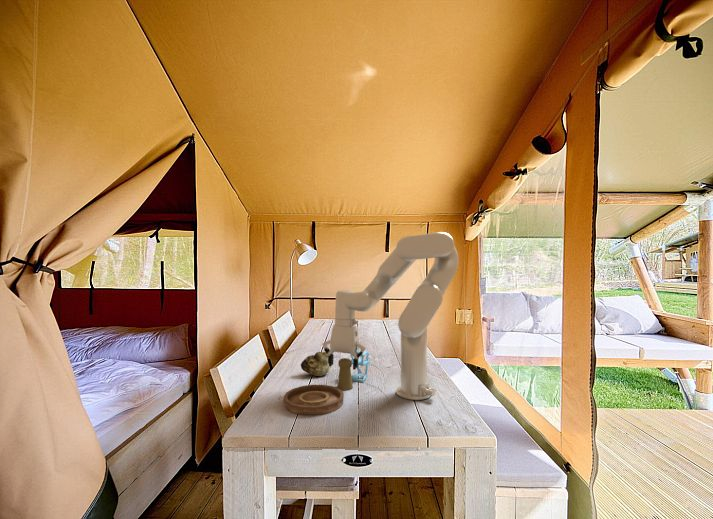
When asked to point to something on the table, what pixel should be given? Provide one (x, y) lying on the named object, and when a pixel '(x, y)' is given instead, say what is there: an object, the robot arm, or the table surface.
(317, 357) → the seashell
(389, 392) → the table surface
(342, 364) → the cork
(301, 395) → the ring tray
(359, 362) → the chair
